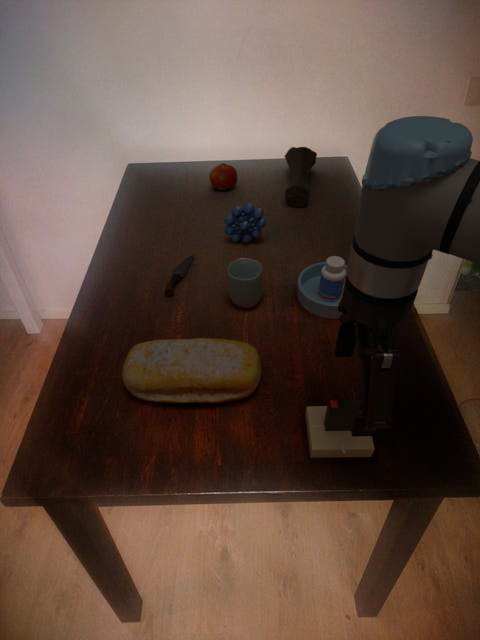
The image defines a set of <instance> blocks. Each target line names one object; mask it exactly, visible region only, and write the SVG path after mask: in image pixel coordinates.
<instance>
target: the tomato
mask: <svg viewBox="0 0 480 640" xmlns="http://www.w3.org/2000/svg"><path fill="white" fill-rule="evenodd" d="M209 182H210V184H211V187H213V186H214V187H213V188H214V189H217V188H220V189H217V190H220V191H224V190H227V189H226V188H230V189H231V187H232V188H233V186H234V187H235V186H236V184H237V183H238V172H237V169H236V168H235V167H234V166H233V165H231V164H227V163H225V162H222V163H219V164H217V165H216V166H214V167H213V168H212V169H211V170H210V172H209Z"/></svg>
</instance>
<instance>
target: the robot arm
mask: <svg viewBox="0 0 480 640" xmlns="http://www.w3.org/2000/svg"><path fill="white" fill-rule="evenodd" d="M473 141H474V136H473V134H472V132H471V130H470V129H469V128H468V127H467V126H466V125H464V124H463V123H461V122H453V121H451V120H450V119H449V118H446V117H440V116H433V115H431V116H430V115H414V116H413V115H412V116H405V117H399V118H397V119H393V120H391V121H388V122H387V123H386V124H385V125H384V126H382V127H381V128H379V129H378V131H376V133H375V134H374V137H373V139H372V142H371V147H370V150H369V154H368V158H367V163H366V167H365V172H364V174H363V175H362V179H361V184H362V185H361V191H360V197H359V204H358V208H357V209H358V210H357V215H356V220H355V221H356V222H355V227H354V233H353V237H352V239H351V244H350V250H349V254H348V259H347V264H346V265H347V276H346V279H345V285H344V290H343V296H342V299H341V301H340V303H339V305H338V311H339V312H342V315H340V318H338V320H339V324H340V325H339V327H338V332H337V338H336V343H335V348H334V357H335V358H346V357H347V358H349V357H351V358H352V357H353V356H354V352H355V347H356V345H357V358H358V360H360V361H361V392H362V393H361V397H362V398H361V402H362V406H359V408H358V411H356V417H355V421H354V424H353V427H352V430H351V433H352V437H360V436H372V437H374V434H375V432H376V431H377V429H391V428H392V421H393V412H394V404H395V403H394V402H395V391H396V390H395V389H396V380H397V372H398V368H399V364H400V360H401V353H400V351H399V350H397V349H394V350H391V339H392V337H393V329H394V328H395V327H397V326H398V325H400V324H401V323H402V322H404V321H405V320H406V319H407V318H408V317H409V316H410V314H411V311H412V308H413V307H414V304H415V301H416V298H417V296H418V292H419V287H420V286H421V283H422V280H423V277H424V274H425V272H426V269H427V267H428V263H429V261H431V260H432V259H433V256H434V255H433V252H434V251H437V252H439V253H443V254H446V255H451V256H454V257H457V258H460V259H462V260H465V261H468V262H472V263H474V264H477V265H480V159H479V160H478V159H475V158H471V156H472V153H473V152H472V145H473ZM356 343H357V344H356ZM375 349H376V350H375ZM366 350H374V351H373V352H365V351H366Z"/></svg>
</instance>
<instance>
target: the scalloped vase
mask: <svg viewBox="0 0 480 640" xmlns="http://www.w3.org/2000/svg"><path fill="white" fill-rule="evenodd" d="M317 156H318V154H317V152H316V151H314V150H312V149H311V148H309V147H307V146H298V147H295V146H293V147H290V148H289V149H288V150H287V152H286V153H285V154H284V159H285V160H286V163H287V167H288V166H289V167H288V169H289V168H290V169H289V170H290V179H289V183H288V185H287V187H286V189H285V190H284V192H285V193H284V195H285V196H284V197H285V202H286V203H287V205H288V206H291V207H294V208H303V207H305V206H306V205H307V204H308V203H309V200H310V197H311V189H310V183H309V182H310V181H309V176H310V175H309V174H310V171H311V169H312V168H313V167H314V166H315V165H316V163H317Z"/></svg>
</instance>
